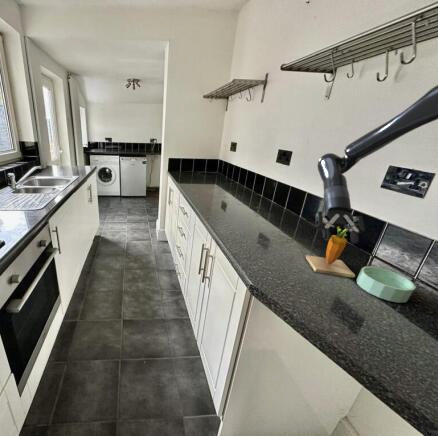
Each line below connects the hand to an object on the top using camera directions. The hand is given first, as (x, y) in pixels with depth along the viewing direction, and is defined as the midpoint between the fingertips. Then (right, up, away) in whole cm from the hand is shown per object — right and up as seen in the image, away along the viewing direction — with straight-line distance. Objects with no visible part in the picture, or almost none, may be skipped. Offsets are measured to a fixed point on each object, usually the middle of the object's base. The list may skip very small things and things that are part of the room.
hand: (340, 241), depth 80 cm
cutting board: (0, -10, +6) cm, 12 cm away
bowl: (+8, -15, -6) cm, 18 cm away
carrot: (0, -9, +5) cm, 11 cm away
